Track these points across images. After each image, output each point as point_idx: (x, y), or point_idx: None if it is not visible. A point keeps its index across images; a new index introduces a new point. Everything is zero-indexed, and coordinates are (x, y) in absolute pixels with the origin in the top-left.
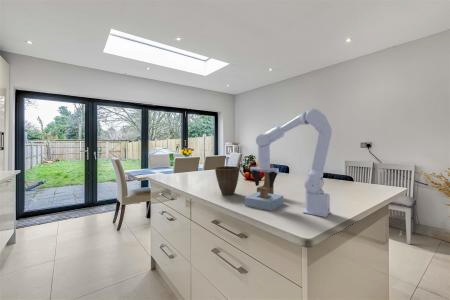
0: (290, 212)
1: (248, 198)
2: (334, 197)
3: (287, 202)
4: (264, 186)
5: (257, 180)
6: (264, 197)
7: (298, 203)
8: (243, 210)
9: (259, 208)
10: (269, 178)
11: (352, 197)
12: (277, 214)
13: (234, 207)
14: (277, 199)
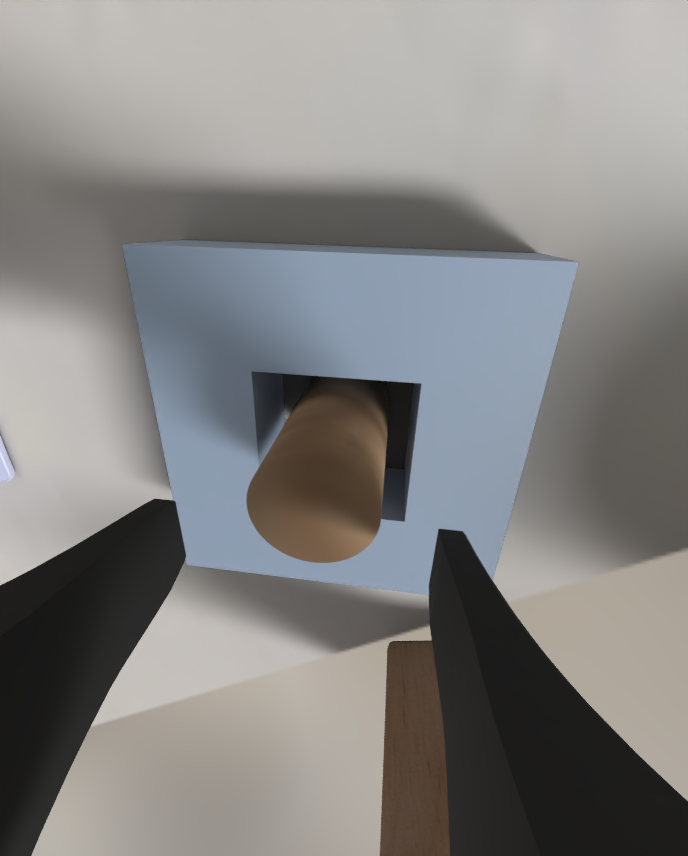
0: (36, 304)
1: (499, 258)
2: None
3: None
4: None
5: (450, 646)
6: (304, 404)
7: None
8: (473, 18)
9: (325, 245)
10: (13, 626)
11: None
12: (73, 160)
13: (661, 68)
14: (163, 426)
